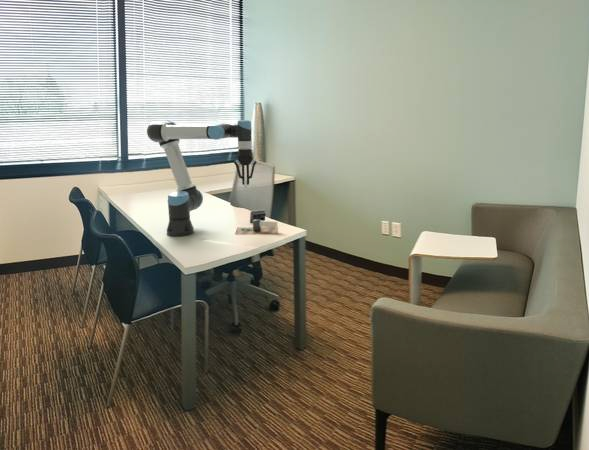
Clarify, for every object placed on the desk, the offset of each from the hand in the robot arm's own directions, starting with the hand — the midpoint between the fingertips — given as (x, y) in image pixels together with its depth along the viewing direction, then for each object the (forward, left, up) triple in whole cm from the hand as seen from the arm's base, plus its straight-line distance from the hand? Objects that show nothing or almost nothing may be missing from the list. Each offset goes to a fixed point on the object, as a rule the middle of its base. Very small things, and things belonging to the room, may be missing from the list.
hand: (245, 190), depth 277 cm
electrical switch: (+6, +17, -25) cm, 30 cm away
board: (+6, -3, -24) cm, 25 cm away
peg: (+7, -3, -23) cm, 24 cm away
